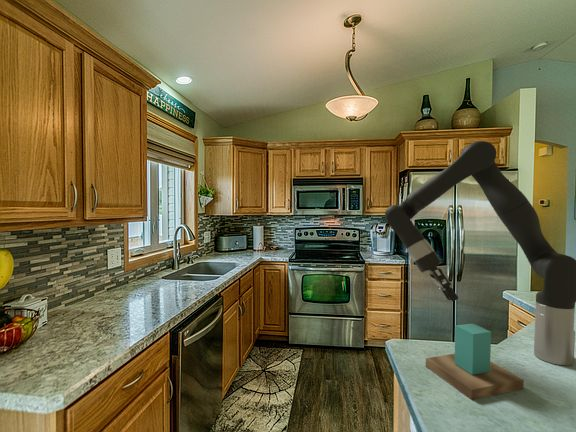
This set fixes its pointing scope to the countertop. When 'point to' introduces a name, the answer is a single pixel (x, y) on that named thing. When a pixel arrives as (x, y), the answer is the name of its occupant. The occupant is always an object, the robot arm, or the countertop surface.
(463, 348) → the tall teal pillar
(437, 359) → the post stand
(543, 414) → the countertop surface
